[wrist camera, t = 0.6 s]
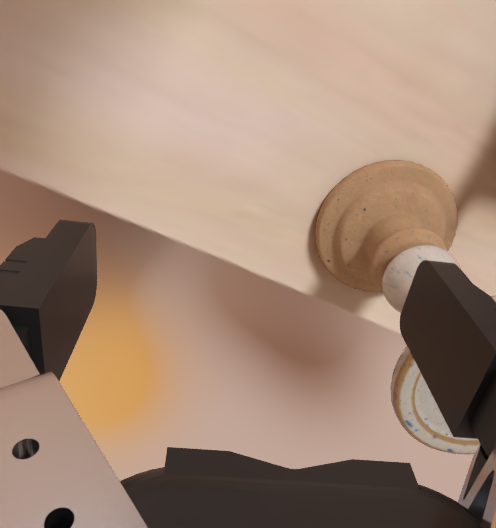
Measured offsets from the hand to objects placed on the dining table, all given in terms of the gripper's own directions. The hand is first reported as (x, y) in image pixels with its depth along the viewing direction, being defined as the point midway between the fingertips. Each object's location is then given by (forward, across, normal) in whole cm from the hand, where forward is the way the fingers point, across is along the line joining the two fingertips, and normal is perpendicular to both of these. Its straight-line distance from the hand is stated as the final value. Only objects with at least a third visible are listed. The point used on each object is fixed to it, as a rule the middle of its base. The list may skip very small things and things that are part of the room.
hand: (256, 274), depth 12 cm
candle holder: (+28, -14, +10) cm, 33 cm away
